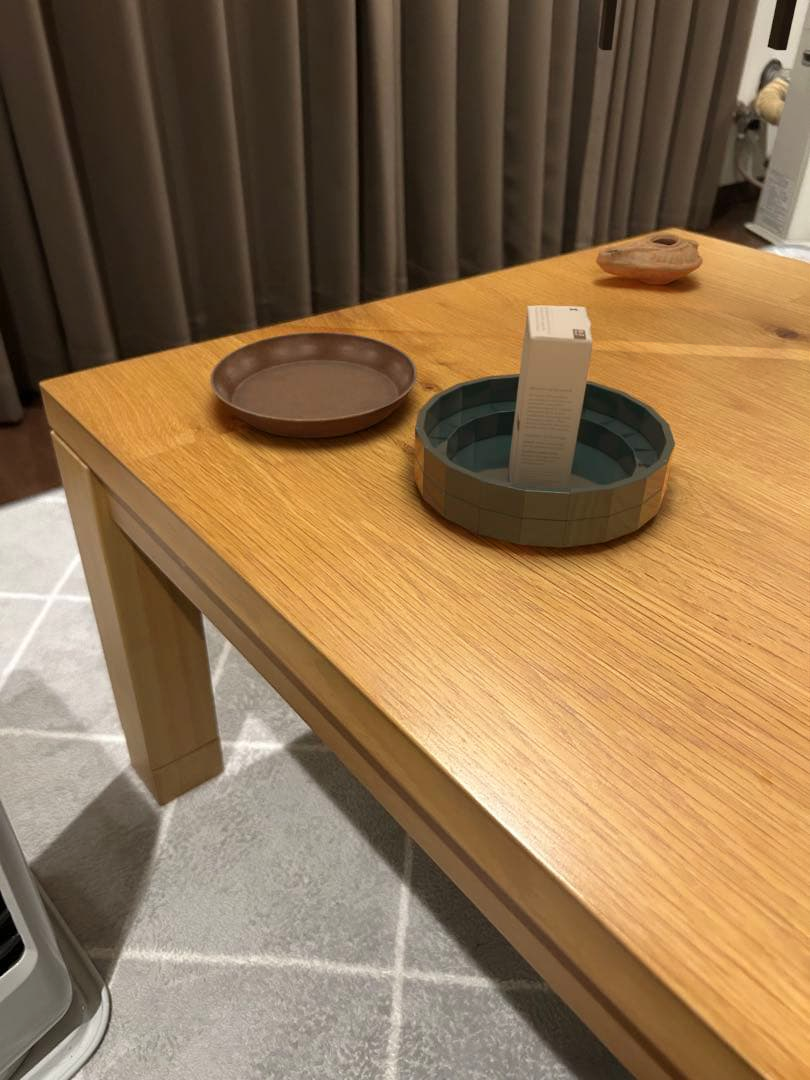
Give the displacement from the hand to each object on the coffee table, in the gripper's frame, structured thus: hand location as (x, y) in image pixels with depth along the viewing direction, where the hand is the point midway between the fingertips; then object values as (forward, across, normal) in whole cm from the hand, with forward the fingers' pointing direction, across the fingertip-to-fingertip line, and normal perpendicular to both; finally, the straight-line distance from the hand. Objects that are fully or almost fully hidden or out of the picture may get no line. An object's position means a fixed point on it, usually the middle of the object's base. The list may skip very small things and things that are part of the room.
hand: (690, 49), depth 70 cm
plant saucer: (+26, -30, -12) cm, 42 cm away
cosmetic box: (+26, -11, -25) cm, 38 cm away
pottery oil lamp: (+27, +4, +24) cm, 37 cm away
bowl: (+26, -12, -25) cm, 38 cm away
